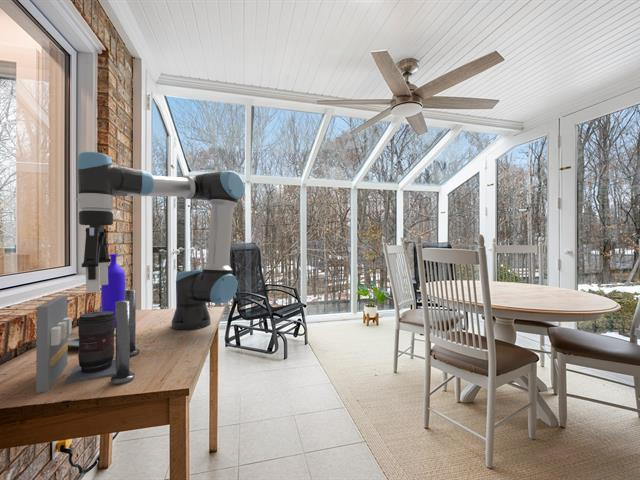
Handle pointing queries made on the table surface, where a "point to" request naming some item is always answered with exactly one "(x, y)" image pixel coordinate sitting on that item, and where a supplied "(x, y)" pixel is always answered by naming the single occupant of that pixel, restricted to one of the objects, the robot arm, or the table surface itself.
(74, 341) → the electrical outlet
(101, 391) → the table surface
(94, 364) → the camera lens
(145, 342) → the table surface
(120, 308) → the post
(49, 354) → the breaker panel
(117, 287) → the bottle
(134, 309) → the post
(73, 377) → the pad
